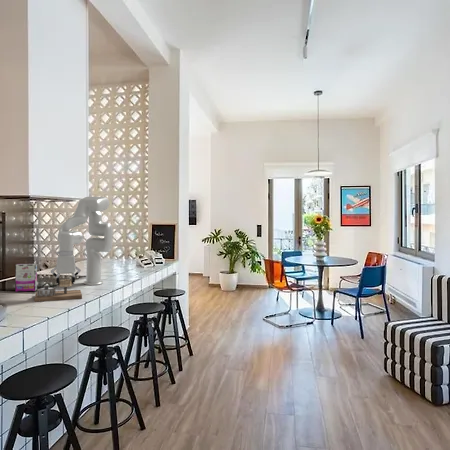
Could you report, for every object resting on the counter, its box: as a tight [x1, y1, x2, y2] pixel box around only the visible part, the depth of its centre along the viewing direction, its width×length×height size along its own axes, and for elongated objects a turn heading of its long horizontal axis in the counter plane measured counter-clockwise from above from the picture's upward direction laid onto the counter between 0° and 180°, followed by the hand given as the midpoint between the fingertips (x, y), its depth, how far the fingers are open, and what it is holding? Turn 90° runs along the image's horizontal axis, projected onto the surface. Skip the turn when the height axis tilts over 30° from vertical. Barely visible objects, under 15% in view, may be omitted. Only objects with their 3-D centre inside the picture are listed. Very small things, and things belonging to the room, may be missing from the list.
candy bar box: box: [14, 263, 38, 293], centre depth 221 cm, size 11×5×16 cm, turn 106°
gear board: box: [34, 284, 83, 303], centre depth 208 cm, size 15×24×7 cm, turn 115°
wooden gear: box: [58, 278, 73, 288], centre depth 209 cm, size 7×7×3 cm
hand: (65, 283), depth 209 cm, fingers closed on wooden gear, 7 cm apart
